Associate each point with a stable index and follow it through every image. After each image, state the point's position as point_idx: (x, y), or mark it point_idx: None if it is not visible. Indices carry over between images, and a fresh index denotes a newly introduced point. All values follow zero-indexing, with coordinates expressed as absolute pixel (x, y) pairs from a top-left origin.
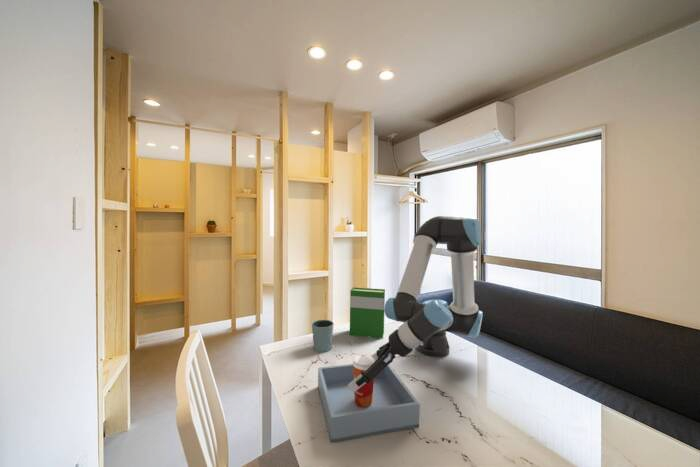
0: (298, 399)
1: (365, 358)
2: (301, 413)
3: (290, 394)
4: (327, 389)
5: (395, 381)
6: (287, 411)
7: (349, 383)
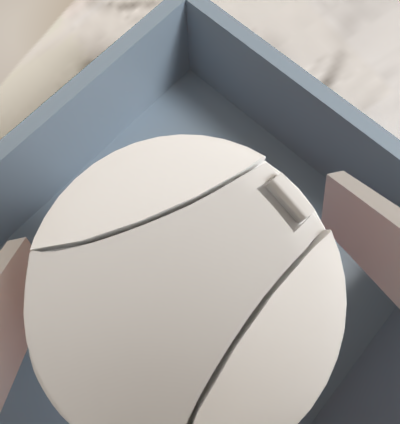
0: (90, 57)
1: (226, 278)
2: (34, 110)
3: (98, 20)
4: (180, 103)
5: (391, 406)
6: (21, 69)
7: (4, 251)
